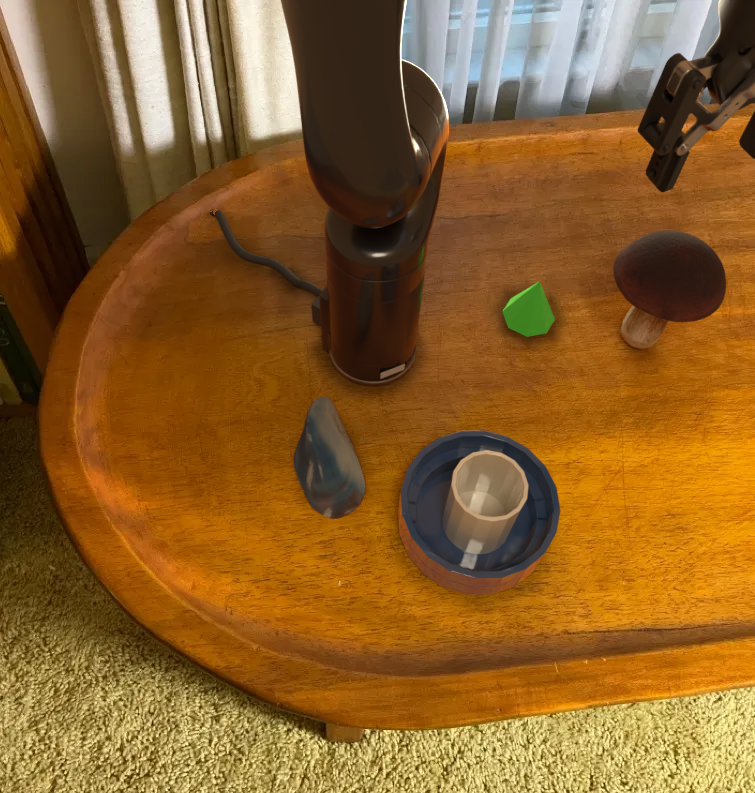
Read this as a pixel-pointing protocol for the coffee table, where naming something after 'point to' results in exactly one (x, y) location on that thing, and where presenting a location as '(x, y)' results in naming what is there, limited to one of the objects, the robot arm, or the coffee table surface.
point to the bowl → (426, 506)
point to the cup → (484, 501)
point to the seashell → (328, 463)
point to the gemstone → (529, 312)
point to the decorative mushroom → (667, 283)
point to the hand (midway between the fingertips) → (705, 167)
